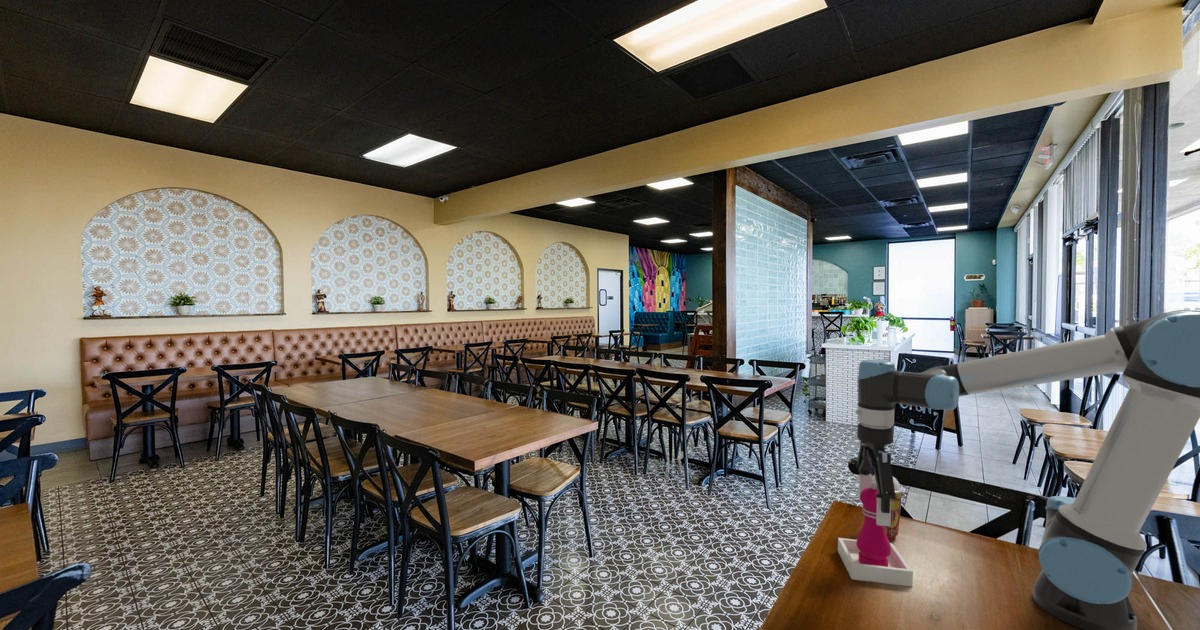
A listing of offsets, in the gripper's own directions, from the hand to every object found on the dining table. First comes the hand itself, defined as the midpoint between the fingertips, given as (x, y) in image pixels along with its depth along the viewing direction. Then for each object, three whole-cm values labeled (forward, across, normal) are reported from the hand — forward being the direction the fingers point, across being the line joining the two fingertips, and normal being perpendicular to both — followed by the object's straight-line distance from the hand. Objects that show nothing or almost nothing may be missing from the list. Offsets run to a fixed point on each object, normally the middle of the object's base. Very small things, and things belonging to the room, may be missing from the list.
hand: (873, 512), depth 115 cm
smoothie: (+14, -18, +8) cm, 24 cm away
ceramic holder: (+14, 0, 0) cm, 14 cm away
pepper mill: (+13, 0, 0) cm, 13 cm away
